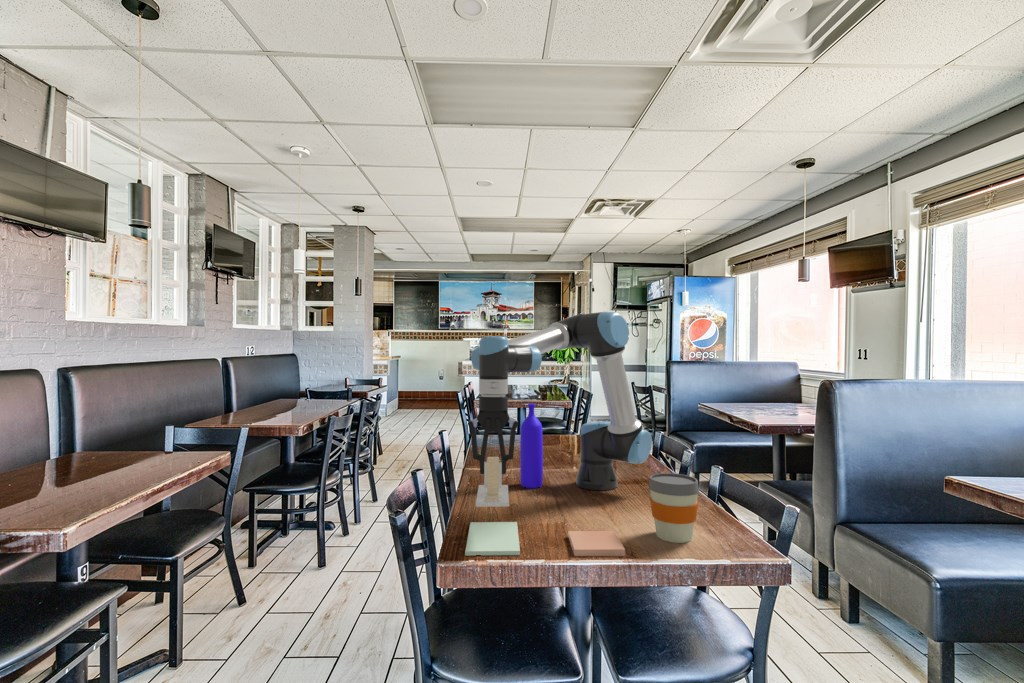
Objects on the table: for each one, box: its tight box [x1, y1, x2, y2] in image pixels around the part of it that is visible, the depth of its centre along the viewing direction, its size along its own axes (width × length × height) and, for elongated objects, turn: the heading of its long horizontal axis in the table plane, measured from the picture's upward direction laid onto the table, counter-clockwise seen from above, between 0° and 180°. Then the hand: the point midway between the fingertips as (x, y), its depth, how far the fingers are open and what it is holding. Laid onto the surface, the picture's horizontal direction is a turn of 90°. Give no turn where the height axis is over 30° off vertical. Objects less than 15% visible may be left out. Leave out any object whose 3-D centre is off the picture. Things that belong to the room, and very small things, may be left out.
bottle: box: [519, 403, 544, 489], centre depth 174 cm, size 8×8×30 cm
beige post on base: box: [475, 456, 510, 508], centre depth 122 cm, size 16×8×10 cm, turn 1°
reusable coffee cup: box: [648, 472, 700, 544], centre depth 124 cm, size 13×13×15 cm
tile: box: [567, 530, 626, 557], centre depth 117 cm, size 2×12×12 cm
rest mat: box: [464, 521, 521, 557], centre depth 122 cm, size 20×13×1 cm, turn 1°
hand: (492, 486), depth 122 cm, fingers closed on beige post on base, 3 cm apart
